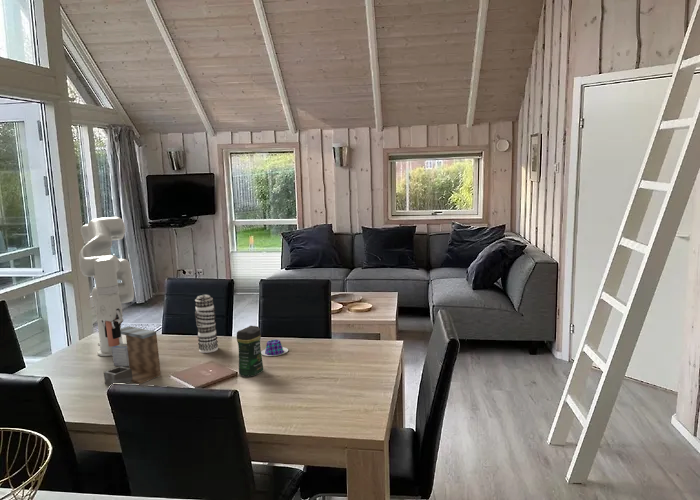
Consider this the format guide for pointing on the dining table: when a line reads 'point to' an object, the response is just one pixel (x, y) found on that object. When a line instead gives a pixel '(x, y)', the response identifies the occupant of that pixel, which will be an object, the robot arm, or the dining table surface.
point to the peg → (111, 341)
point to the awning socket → (137, 358)
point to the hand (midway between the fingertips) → (113, 336)
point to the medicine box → (120, 355)
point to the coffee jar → (249, 351)
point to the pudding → (274, 348)
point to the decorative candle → (206, 324)
